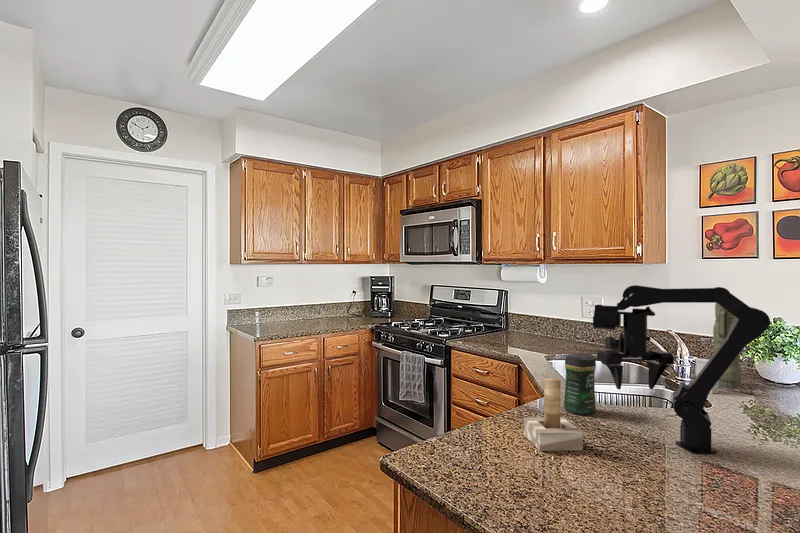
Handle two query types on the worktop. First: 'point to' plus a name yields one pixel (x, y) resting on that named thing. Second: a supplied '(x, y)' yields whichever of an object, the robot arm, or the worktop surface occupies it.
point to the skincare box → (699, 366)
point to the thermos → (719, 334)
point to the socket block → (553, 435)
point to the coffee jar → (580, 383)
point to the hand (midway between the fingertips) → (634, 389)
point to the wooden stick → (552, 403)
